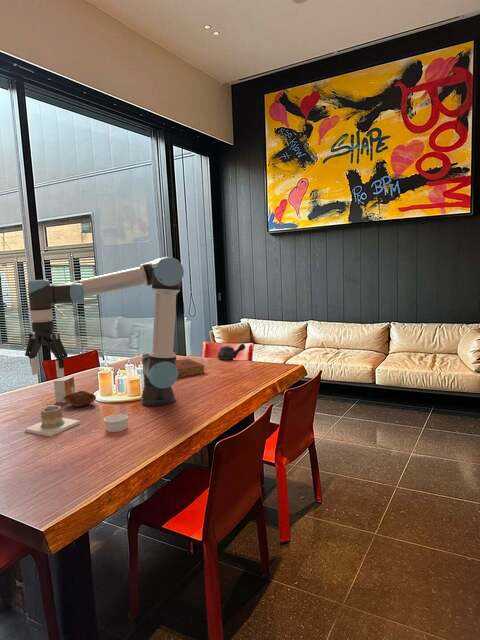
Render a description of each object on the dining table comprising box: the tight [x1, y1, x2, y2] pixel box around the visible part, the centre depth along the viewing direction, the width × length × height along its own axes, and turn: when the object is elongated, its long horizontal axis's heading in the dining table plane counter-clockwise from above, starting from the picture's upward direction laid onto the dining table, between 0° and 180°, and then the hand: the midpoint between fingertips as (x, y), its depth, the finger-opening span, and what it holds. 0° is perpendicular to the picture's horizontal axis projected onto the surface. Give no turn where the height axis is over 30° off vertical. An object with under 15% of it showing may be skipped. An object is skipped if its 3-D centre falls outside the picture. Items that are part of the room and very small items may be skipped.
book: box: [176, 358, 205, 379], centre depth 246 cm, size 30×24×5 cm
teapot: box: [216, 343, 246, 361], centre depth 277 cm, size 19×15×10 cm
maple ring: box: [40, 405, 63, 427], centre depth 167 cm, size 7×7×6 cm
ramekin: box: [103, 413, 129, 433], centre depth 163 cm, size 9×9×4 cm
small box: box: [53, 376, 76, 404], centre depth 202 cm, size 8×6×10 cm
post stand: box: [24, 404, 81, 438], centre depth 167 cm, size 14×14×9 cm
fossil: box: [63, 389, 97, 408], centre depth 192 cm, size 13×8×10 cm
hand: (48, 375), depth 165 cm, fingers open, 13 cm apart
